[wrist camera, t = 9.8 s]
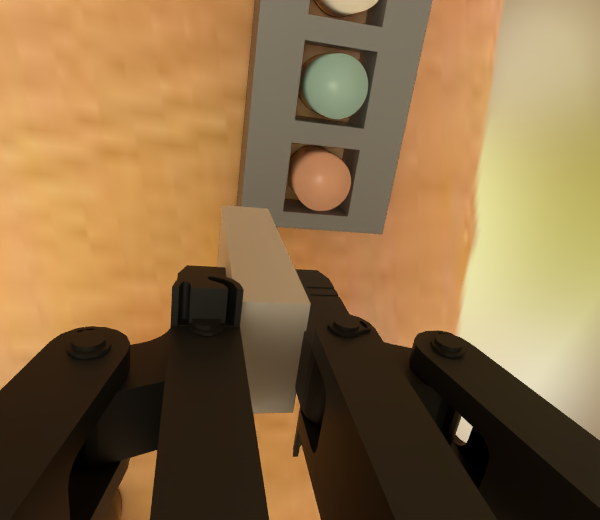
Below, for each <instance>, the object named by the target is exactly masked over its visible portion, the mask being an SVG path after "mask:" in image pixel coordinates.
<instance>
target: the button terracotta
mask: <svg viewBox="0 0 600 520" xmlns="http://www.w3.org/2000/svg"><path fill="white" fill-rule="evenodd" d="M287 180H288V183H289V185H290V187H291V188H292V189H293V191H294V192H295V194H296V195H297V197H298V198H299V199H300V201H301V202H302V203H303V204H304V205H305V206H306V207H308V208H310V209H312V210H316V211H327V210H330V209H333V208H335V207H337V206H338V205H339V204H341V203H342V202H343V201H344V199H345V198H346V196H347V195H348V193H349V190H350V186H351V176H350V172H349V170H348V168H347V166H346V165H345V163H344V162H343V161H342V160H340V159H339V158H338V157H336V156H335V155H333V154H332V153H331V152H329V151H328V150H326V149H325V148H323V147H320V146H307V147H304V148H301V149H300V150H298V151H297V152H296V153H295V154H294V155H293V156H292V157H291V159H290V161H289V169H288V176H287Z"/></svg>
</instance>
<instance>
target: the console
mask: <svg viewBox="0 0 600 520" xmlns="http://www.w3.org/2000/svg"><path fill="white" fill-rule="evenodd" d="M309 4H310V0H255V4H254V15H253V26H252V37H251V49H250V60H249V71H248V82H247V94H246V105H245V116H244V127H243V138H242V150H241V161H240V172H239V183H238V195H237V206H240V207H253V208H266V209H268V210H269V212H270V214H271V216H272V219H273V221H274V223H275V225H276V227H285V228H300V229H314V230H328V231H343V232H357V233H372V234H382V233H383V228H384V224H385V219H386V214H387V210H388V205H389V200H390V196H391V191H392V186H393V182H394V177H395V172H396V168H397V163H398V158H399V154H400V149H401V144H402V140H403V135H404V130H405V126H406V121H407V116H408V112H409V107H410V102H411V98H412V93H413V88H414V84H415V79H416V74H417V70H418V65H419V60H420V56H421V51H422V46H423V42H424V37H425V32H426V28H427V23H428V18H429V14H430V9H431V4H432V0H378V2H377V3H376V4H375V5H373V6H372V7H371V8H369V9H368V12H367V18H366V24H361V23H355V22H350V21H344V20H339V19H333V18H327V17H322V16H316V15H311V14H308V12H309ZM304 43H305V44H311V45H317V46H323V47H330V48H336V49H342V50H348V51H354V52H360V59H359V62H360V63H361V64H362V66H363V67H364V69H365V71H366V74H367V78H368V92H367V96H366V98H365V101H364V103H363V104H362V106H361V107H360V108H359V109H358V110H357V111H356V112H355V113H354V114H352V115H351V116H350V118H349V122H342V121H334V120H326V119H318V118H310V117H302V116H295V114H296V106H297V98H298V90H299V83H300V75H301V67H302V59H303V51H304ZM292 142H293V143H301V144H310V145H319V146H328V147H337V148H344V153H343V159H342V161H343V162H344V163H345V165H346V166H347V168H348V170H349V172H350V176H351V186H350V190H349V193H348V195H347V196H346V198H345V199H344V201H343V202H342V203H341V204H339V205H338V206H337V207H335V208H333V209H330V210H327V211H316V210H312V209H310V208H308V207H306V206H305V205H304V204H303V203H302V202H301V201H300V200H294V199H285V192H286V184H287V176H288V169H289V161H290V153H291V145H292Z"/></svg>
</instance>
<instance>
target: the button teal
mask: <svg viewBox="0 0 600 520" xmlns="http://www.w3.org/2000/svg"><path fill="white" fill-rule="evenodd" d="M298 92H299V95H300V98H301V100H302V101H303V103H304V104H305V105H306V106H307V107H308V108H309V109H311V110H313V111H314V112H317V113H319V114H321V115H323V116H325V117H328V118H331V119H343V118H346V117H349V116H351V115H352V114H354V113H355V112H356V111H357V110H358V109H359V108H360V107H361V106H362V104H363V103H364V101H365V98H366V96H367V92H368V78H367V74H366V71H365V69H364V67H363V66H362V64H361V63H360V62H359V61H358V60H357V59H355V58H354V57H352V56H350V55H348V54H343V53H334V54H320V55H317V56H314V57H313V58H311V59H310V60H308V61H307V62H306V63H305V65H304V66H303V67H302V69H301V75H300V83H299V90H298Z"/></svg>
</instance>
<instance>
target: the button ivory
mask: <svg viewBox="0 0 600 520" xmlns="http://www.w3.org/2000/svg"><path fill="white" fill-rule="evenodd" d="M315 2H316V3H317V5H318V6H319V7H320V9H321V10H323V11H324V12H325V13H327V14H329V15H331V16H335V17H344V16H348V15H351V14H355V13H358V12H362V11H365V10H367V9H369V8H371V7H372V6H373V5H375V4H376V3H377V2H378V0H315Z"/></svg>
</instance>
